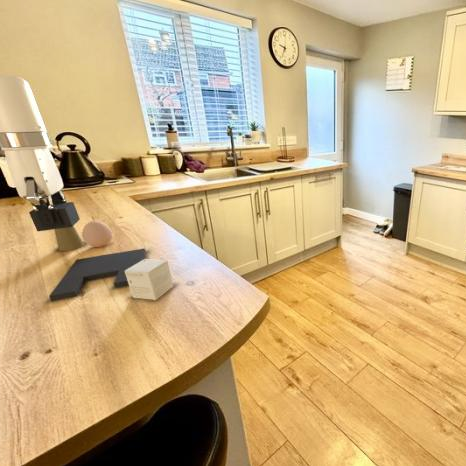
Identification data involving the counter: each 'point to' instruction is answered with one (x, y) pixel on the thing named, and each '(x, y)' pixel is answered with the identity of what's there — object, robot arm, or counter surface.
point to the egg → (97, 234)
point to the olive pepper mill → (68, 239)
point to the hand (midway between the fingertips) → (58, 221)
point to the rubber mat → (96, 272)
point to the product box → (149, 279)
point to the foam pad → (65, 212)
